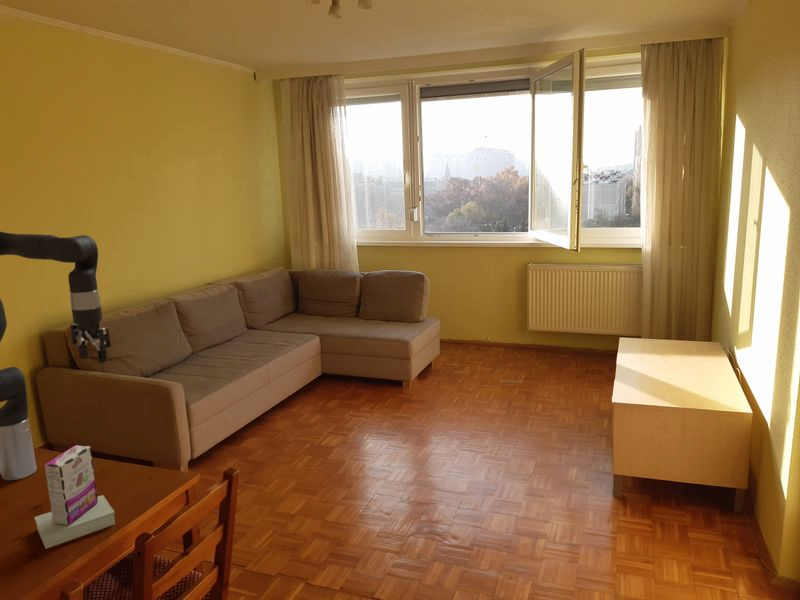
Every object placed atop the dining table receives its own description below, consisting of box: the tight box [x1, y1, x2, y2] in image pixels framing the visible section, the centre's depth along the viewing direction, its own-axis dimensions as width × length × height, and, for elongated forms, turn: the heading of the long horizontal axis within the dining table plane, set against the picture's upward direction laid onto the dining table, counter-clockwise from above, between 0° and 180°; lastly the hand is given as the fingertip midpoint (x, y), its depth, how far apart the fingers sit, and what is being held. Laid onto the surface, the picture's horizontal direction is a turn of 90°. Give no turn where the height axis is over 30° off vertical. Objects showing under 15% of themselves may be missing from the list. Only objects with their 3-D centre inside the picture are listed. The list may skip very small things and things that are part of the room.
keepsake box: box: [34, 494, 116, 549], centre depth 159 cm, size 16×11×4 cm
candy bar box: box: [43, 444, 98, 525], centre depth 157 cm, size 11×5×16 cm, turn 169°
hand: (93, 360), depth 179 cm, fingers open, 8 cm apart
